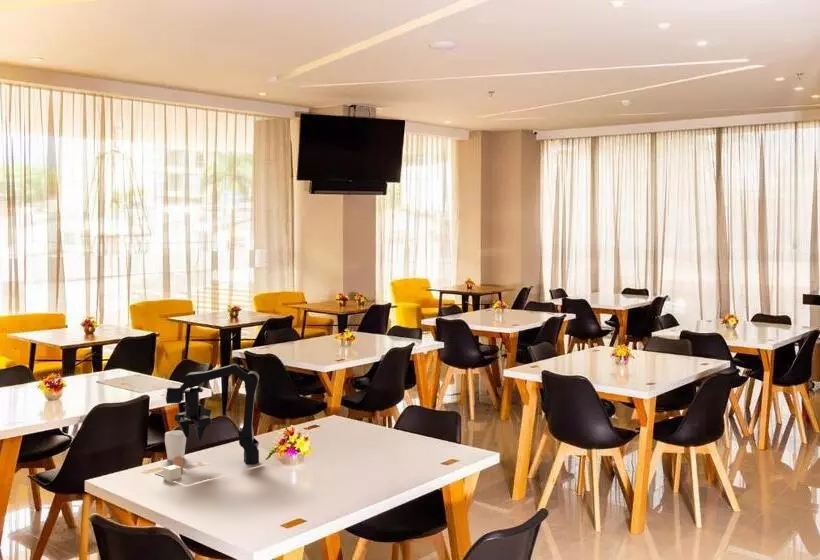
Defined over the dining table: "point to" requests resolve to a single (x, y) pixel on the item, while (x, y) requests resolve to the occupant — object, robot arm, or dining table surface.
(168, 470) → the die
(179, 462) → the pawn
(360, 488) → the dining table surface
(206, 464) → the track
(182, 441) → the cup
